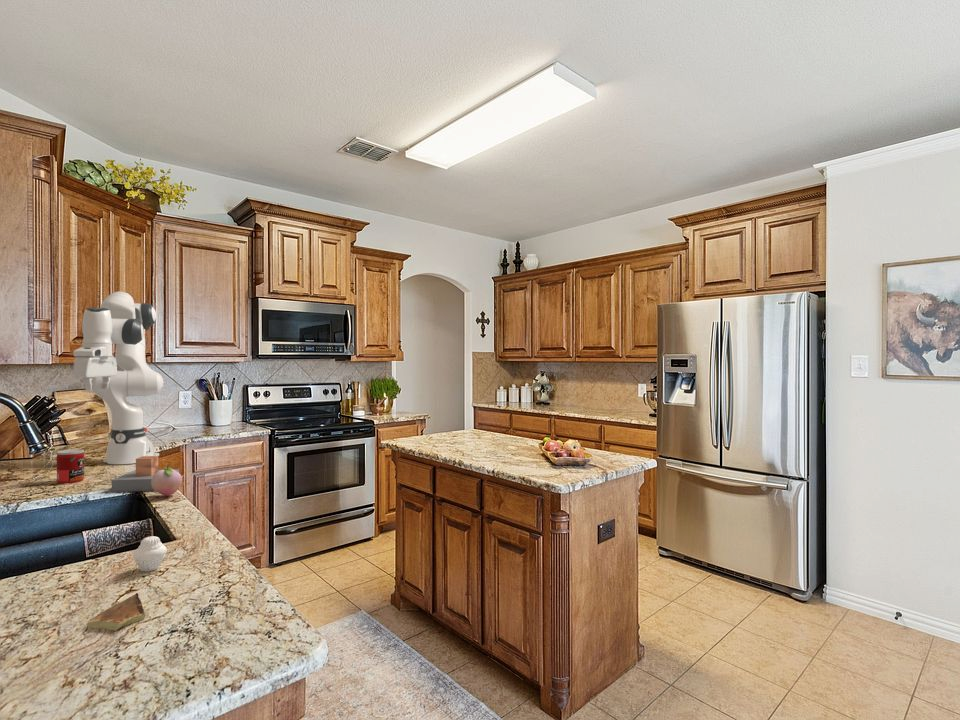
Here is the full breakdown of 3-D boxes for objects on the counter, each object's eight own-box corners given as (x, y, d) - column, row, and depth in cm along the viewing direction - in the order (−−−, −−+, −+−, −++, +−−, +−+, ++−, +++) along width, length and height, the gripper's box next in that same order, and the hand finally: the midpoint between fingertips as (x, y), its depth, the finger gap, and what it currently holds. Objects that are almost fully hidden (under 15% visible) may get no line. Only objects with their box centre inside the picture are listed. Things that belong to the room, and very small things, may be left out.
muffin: (125, 573, 107) (125, 540, 107) (148, 562, 113) (148, 530, 113) (152, 575, 106) (152, 542, 106) (173, 564, 112) (174, 532, 112)
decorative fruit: (148, 496, 166) (148, 465, 166) (176, 491, 172) (176, 462, 172) (155, 502, 160) (155, 470, 160) (184, 497, 165) (185, 466, 165)
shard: (137, 600, 97) (137, 590, 97) (173, 603, 96) (173, 594, 96) (84, 630, 86) (84, 619, 86) (124, 634, 85) (124, 623, 85)
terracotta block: (142, 472, 182) (143, 456, 182) (158, 472, 183) (158, 455, 183) (135, 476, 177) (135, 458, 177) (151, 475, 178) (151, 458, 178)
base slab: (134, 481, 186) (134, 470, 186) (179, 480, 188) (179, 469, 188) (111, 491, 171) (111, 479, 171) (160, 490, 173) (160, 478, 173)
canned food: (72, 484, 181) (72, 453, 181) (50, 483, 181) (50, 452, 181) (89, 479, 189) (89, 449, 189) (68, 478, 189) (68, 448, 189)
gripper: (104, 352, 197) (104, 387, 197) (70, 351, 177) (69, 391, 177) (122, 352, 198) (121, 387, 198) (90, 351, 178) (90, 391, 178)
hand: (97, 389), depth 187 cm, fingers open, 8 cm apart
